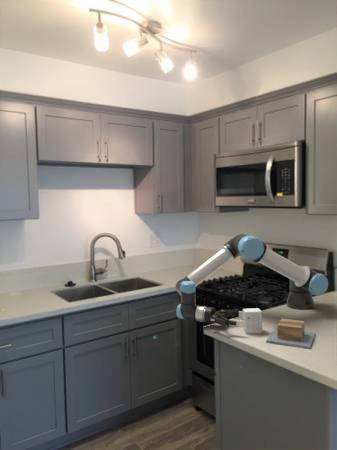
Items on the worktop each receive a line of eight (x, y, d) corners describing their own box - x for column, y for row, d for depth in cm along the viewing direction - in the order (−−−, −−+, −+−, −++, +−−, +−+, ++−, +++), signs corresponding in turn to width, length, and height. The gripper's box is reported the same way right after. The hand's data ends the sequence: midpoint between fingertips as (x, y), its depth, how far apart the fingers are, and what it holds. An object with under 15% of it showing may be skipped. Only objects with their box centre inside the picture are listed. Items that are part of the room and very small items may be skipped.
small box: (259, 329, 182) (259, 307, 181) (262, 333, 176) (262, 311, 176) (242, 330, 182) (242, 308, 181) (245, 334, 176) (245, 311, 175)
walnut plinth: (281, 331, 175) (281, 318, 175) (304, 334, 171) (304, 321, 170) (277, 338, 167) (277, 325, 166) (301, 341, 162) (301, 328, 162)
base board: (275, 329, 181) (275, 327, 181) (315, 334, 173) (315, 332, 172) (266, 342, 165) (266, 340, 165) (309, 348, 157) (309, 346, 157)
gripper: (215, 314, 200) (255, 319, 190) (196, 329, 178) (240, 336, 168) (215, 300, 200) (254, 304, 190) (196, 314, 178) (239, 319, 168)
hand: (248, 319), depth 179 cm, fingers open, 13 cm apart
